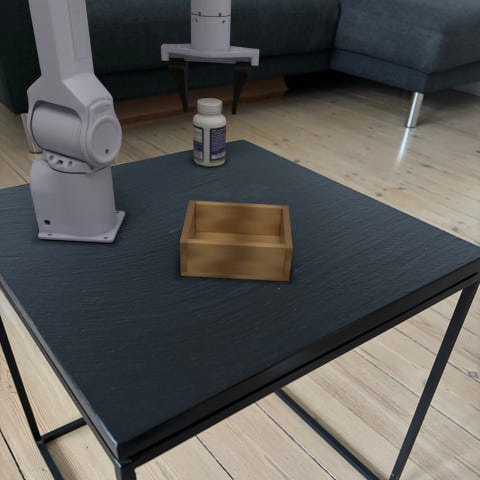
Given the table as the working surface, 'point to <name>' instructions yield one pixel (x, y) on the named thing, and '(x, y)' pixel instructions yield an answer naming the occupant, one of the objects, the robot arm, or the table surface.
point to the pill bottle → (209, 133)
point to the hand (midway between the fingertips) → (210, 111)
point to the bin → (236, 241)
